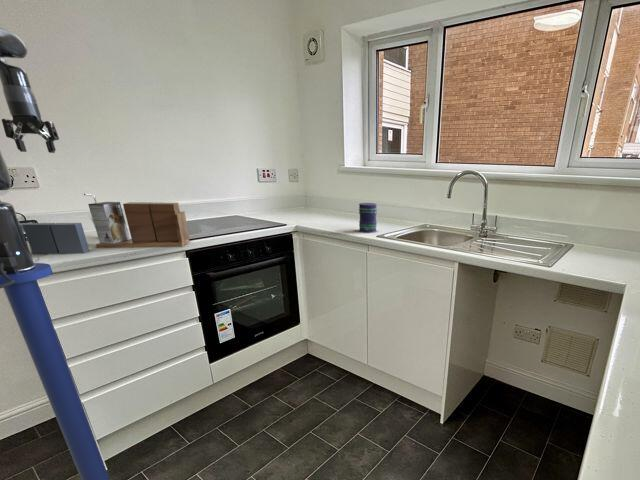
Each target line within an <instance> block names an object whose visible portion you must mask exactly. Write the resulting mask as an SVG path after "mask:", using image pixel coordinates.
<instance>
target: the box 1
mask: <svg viewBox="0 0 640 480" xmlns="http://www.w3.org/2000/svg"><path fill="white" fill-rule="evenodd" d="M151 203H155V202H151V201H149V202H145V201H143V202H141V201H139V202H138V201H136V202H135V201H133V202H132V201H129V202H125V203H122V207H123V211H124V214H125V215H124V216H125V220H126V222H127V223H126V224H127V228H128V230H129V231H128V232H129V236H130V239H132V242H157V237H156V232H155V228H154V223H153V219H152V214H151V210H150V205H149V204H151Z"/></svg>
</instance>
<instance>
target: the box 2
mask: <svg viewBox="0 0 640 480" xmlns="http://www.w3.org/2000/svg"><path fill="white" fill-rule="evenodd" d="M149 205H150V210H151V214H152V219H153V223H154V228H155V232H156V237H157V241H158V242H179V239H178V234H177V229H176V224H175V219H174V214H176V213H179V212H181V210H180V204H179V202H161V201H160V202H157V201H156V202H154V203H151V204H149Z"/></svg>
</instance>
